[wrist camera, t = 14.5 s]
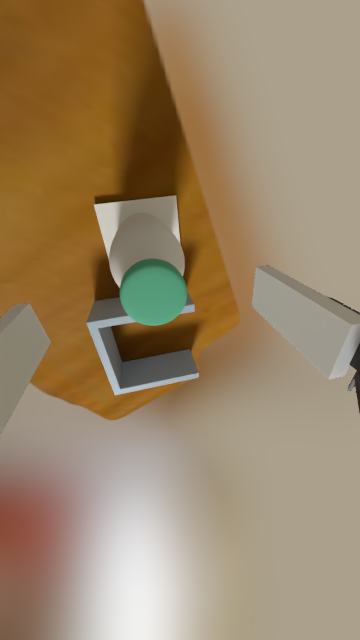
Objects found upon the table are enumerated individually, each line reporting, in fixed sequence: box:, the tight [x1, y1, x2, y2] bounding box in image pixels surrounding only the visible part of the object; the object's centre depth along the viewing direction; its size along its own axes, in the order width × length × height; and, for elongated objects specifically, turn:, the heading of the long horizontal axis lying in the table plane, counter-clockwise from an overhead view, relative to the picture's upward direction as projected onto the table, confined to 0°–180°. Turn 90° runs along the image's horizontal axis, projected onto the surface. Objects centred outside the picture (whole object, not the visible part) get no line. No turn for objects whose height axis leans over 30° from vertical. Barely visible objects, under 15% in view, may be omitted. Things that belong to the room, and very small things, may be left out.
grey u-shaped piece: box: [87, 292, 199, 395], centre depth 37 cm, size 15×15×7 cm
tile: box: [94, 195, 180, 283], centre depth 31 cm, size 11×11×1 cm
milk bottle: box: [109, 213, 187, 326], centre depth 22 cm, size 8×8×20 cm
